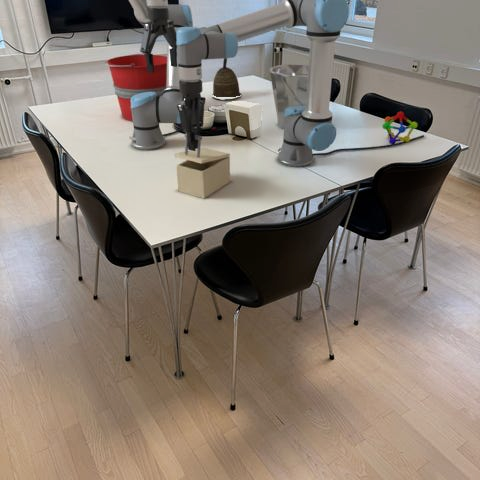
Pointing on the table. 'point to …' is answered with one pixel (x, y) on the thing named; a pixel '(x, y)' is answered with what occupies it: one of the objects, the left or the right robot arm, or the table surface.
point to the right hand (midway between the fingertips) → (193, 149)
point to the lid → (200, 153)
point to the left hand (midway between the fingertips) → (162, 69)
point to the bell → (225, 82)
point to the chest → (203, 176)
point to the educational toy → (398, 128)
